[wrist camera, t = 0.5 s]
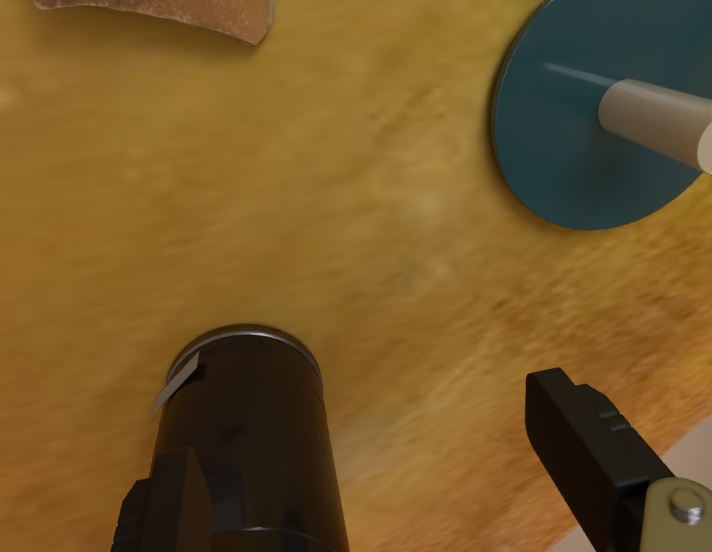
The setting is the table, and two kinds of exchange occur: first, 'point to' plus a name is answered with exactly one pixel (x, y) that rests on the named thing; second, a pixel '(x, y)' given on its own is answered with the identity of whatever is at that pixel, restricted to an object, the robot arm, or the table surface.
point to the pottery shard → (193, 13)
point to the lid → (605, 109)
